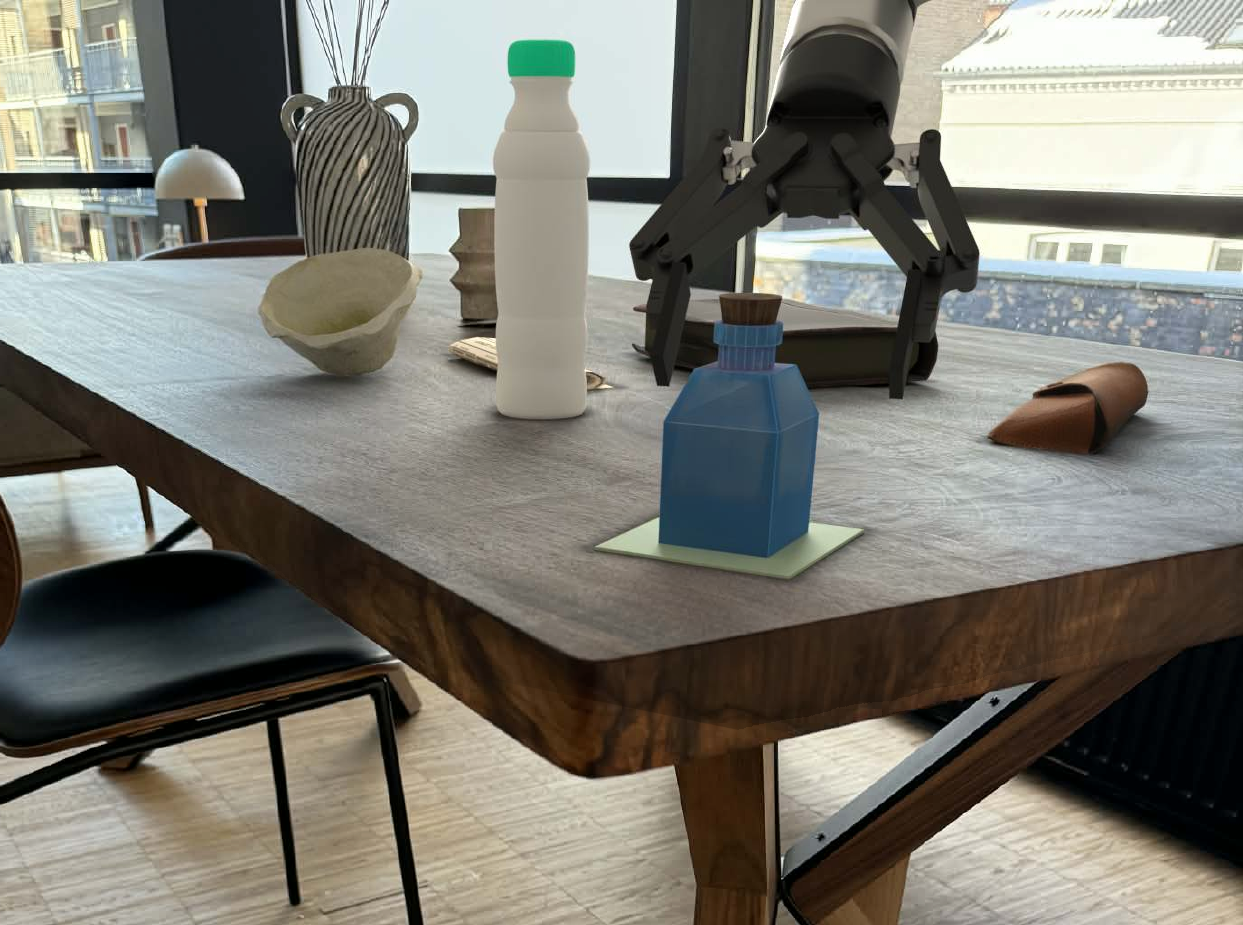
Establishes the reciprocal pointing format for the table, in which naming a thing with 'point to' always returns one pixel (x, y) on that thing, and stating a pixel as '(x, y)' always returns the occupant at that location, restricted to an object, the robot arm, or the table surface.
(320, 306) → the bowl
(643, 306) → the diary
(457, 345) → the newspaper
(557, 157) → the water bottle
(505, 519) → the table surface
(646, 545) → the mat
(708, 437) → the perfume bottle
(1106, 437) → the sunglasses case
